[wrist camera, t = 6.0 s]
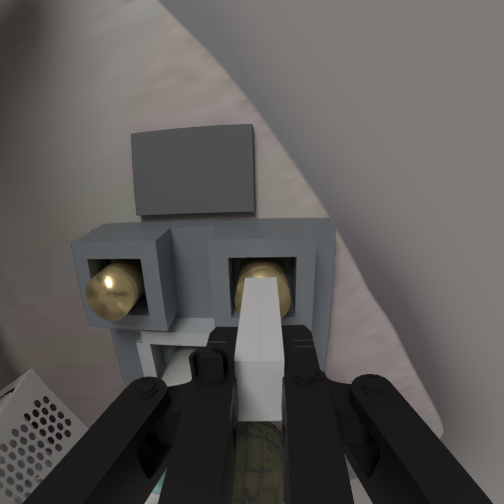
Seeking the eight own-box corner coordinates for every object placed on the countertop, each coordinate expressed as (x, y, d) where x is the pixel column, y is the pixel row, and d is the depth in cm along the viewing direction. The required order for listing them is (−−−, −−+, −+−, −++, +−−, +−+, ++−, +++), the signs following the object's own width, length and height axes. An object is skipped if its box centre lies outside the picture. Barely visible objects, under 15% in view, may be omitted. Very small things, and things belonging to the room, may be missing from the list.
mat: (134, 134, 20) (131, 133, 19) (252, 124, 20) (252, 124, 19) (139, 213, 22) (136, 215, 21) (254, 209, 21) (254, 211, 21)
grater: (31, 368, 27) (-67, 494, 8) (95, 434, 30) (32, 569, 11) (0, 390, 29) (-76, 488, 10) (54, 445, 32) (-2, 551, 13)
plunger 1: (110, 252, 20) (81, 274, 16) (149, 252, 20) (124, 275, 16) (117, 291, 21) (91, 319, 17) (154, 292, 21) (133, 322, 17)
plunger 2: (239, 250, 20) (233, 275, 16) (285, 249, 20) (291, 274, 16) (240, 293, 20) (235, 325, 17) (285, 292, 20) (289, 324, 17)
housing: (103, 224, 22) (68, 243, 17) (329, 218, 21) (347, 237, 17) (138, 391, 27) (121, 428, 22) (315, 396, 26) (323, 437, 21)
